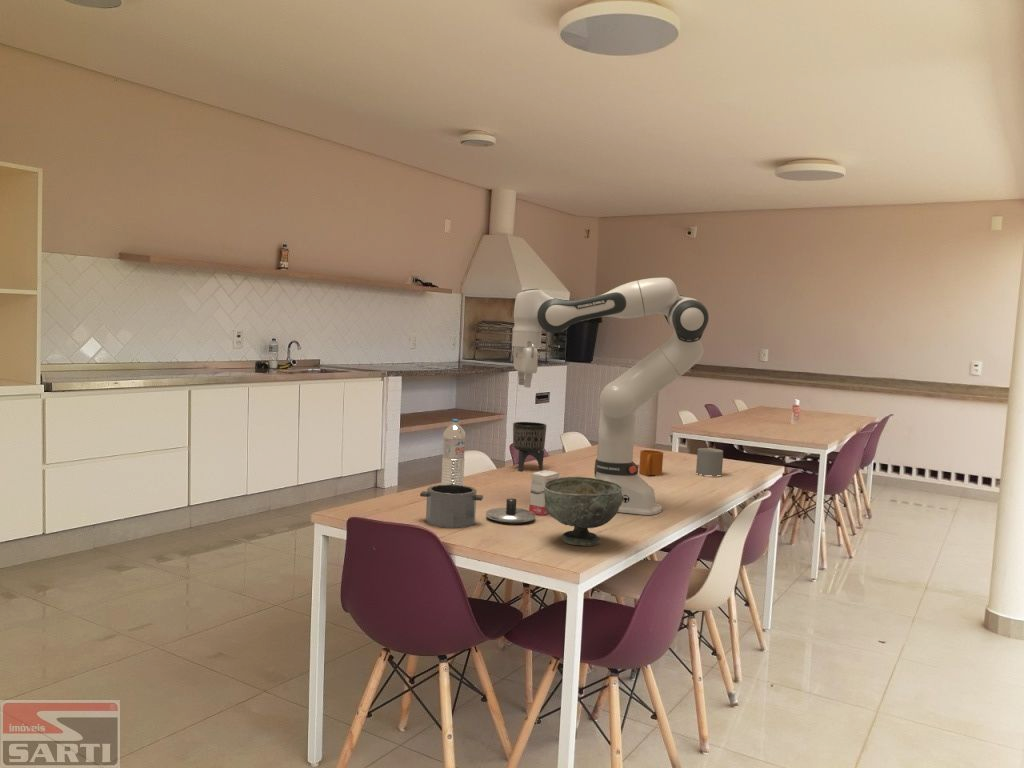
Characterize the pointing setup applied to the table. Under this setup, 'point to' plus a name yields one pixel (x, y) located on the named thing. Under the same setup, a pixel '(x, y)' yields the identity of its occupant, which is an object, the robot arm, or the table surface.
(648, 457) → the mug
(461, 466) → the water bottle
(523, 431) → the planter
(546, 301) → the robot arm
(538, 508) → the ink box
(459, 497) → the pot
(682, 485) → the table surface
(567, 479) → the bowl
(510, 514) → the lid
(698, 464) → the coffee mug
